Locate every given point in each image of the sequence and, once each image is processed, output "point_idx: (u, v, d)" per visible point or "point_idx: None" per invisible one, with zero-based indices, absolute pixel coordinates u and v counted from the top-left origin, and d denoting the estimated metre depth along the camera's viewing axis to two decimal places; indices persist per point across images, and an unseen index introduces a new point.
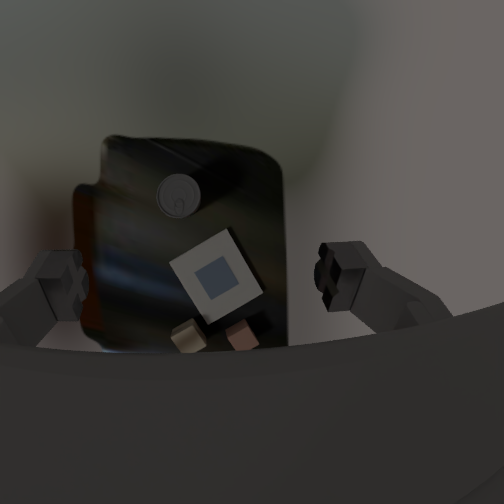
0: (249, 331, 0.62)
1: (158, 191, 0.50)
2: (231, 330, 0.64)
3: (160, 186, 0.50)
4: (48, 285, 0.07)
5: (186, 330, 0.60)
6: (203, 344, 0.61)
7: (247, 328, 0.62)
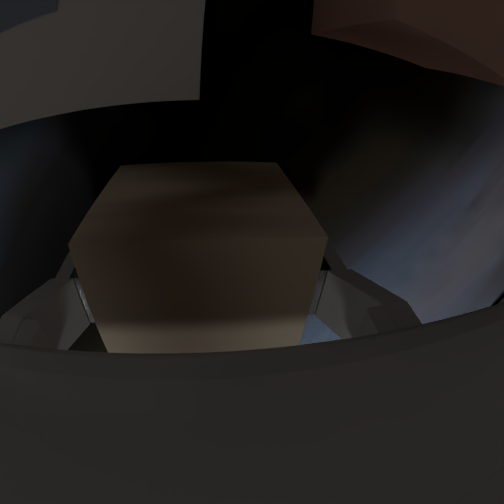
0: None
1: None
2: None
3: None
4: None
5: (102, 305, 0.06)
6: (298, 251, 0.06)
7: None
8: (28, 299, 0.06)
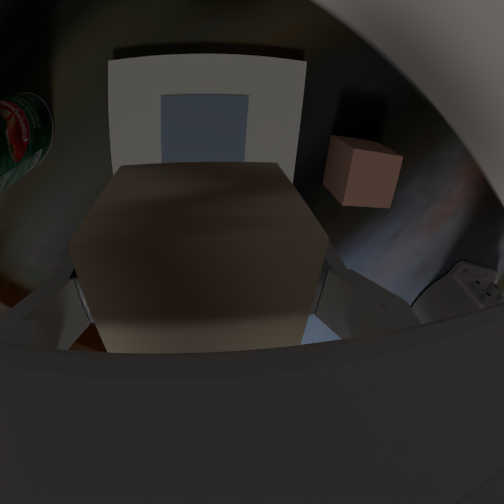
0: (366, 154, 0.22)
1: None
2: (332, 179, 0.26)
3: None
4: None
5: (102, 306, 0.06)
6: (299, 252, 0.06)
7: (357, 153, 0.22)
8: (28, 299, 0.06)
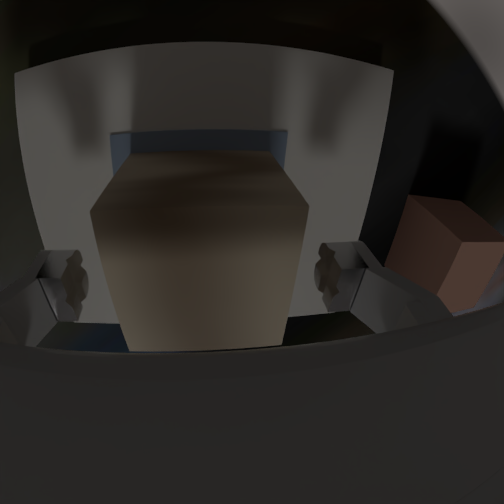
0: (473, 247, 0.12)
1: None
2: (406, 268, 0.16)
3: None
4: (48, 285, 0.07)
5: (115, 268, 0.08)
6: (284, 218, 0.08)
7: (464, 247, 0.11)
8: None
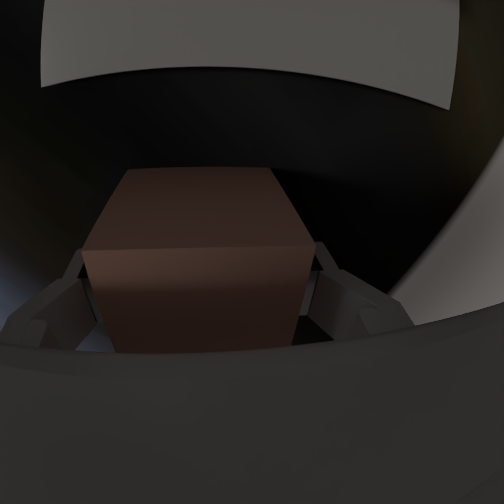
0: (293, 288, 0.07)
1: None
2: (154, 192, 0.08)
3: None
4: None
5: None
6: None
7: (298, 260, 0.06)
8: (34, 300, 0.06)
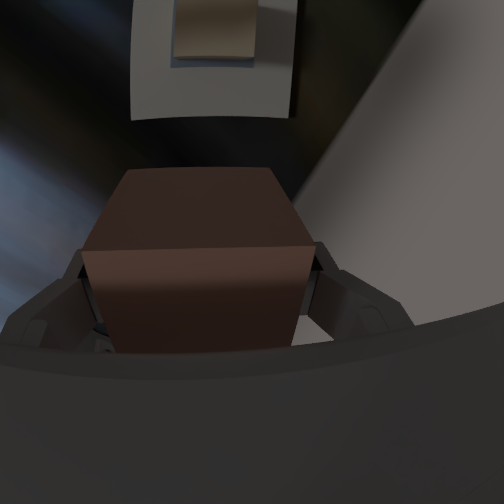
0: (293, 289, 0.07)
1: None
2: (154, 192, 0.08)
3: None
4: None
5: None
6: (249, 48, 0.17)
7: (298, 260, 0.06)
8: (34, 300, 0.06)
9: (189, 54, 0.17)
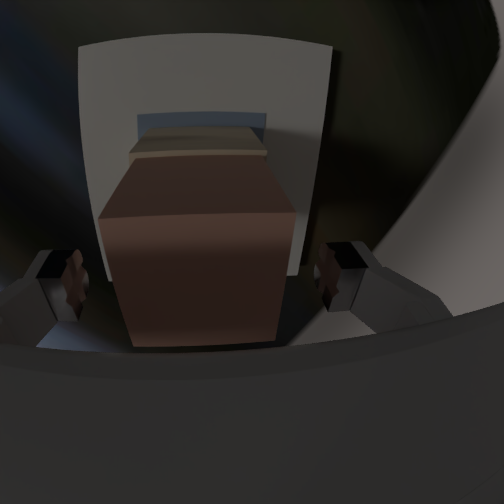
0: (279, 252, 0.08)
1: None
2: (159, 175, 0.09)
3: None
4: (48, 285, 0.07)
5: None
6: None
7: (282, 226, 0.08)
8: None
9: None
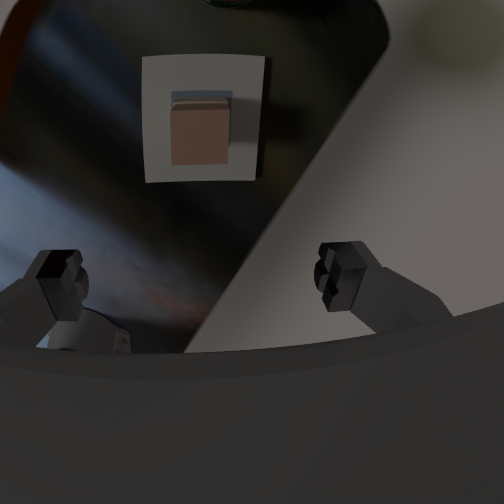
0: (225, 123, 0.24)
1: None
2: (187, 106, 0.25)
3: None
4: (48, 285, 0.07)
5: None
6: None
7: (225, 113, 0.23)
8: None
9: None
